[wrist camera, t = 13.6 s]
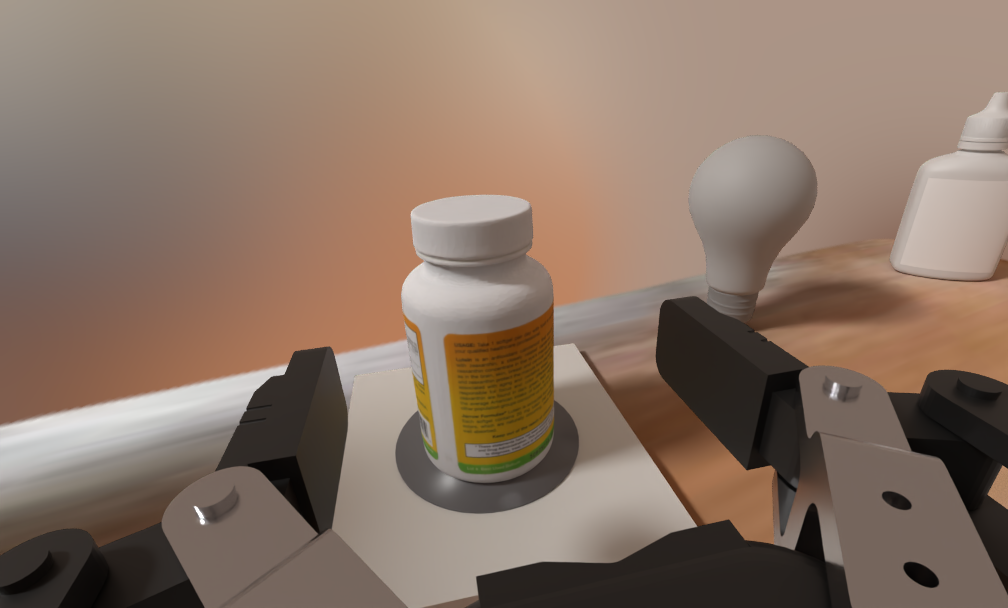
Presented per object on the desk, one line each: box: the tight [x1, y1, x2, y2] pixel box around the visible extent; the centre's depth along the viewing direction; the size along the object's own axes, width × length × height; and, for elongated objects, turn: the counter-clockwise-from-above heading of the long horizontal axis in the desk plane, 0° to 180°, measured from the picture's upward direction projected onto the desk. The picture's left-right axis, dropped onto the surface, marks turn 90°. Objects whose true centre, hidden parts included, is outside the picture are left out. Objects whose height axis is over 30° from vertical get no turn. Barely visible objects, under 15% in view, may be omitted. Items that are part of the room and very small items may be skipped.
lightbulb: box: [688, 135, 817, 323], centre depth 26 cm, size 6×6×11 cm
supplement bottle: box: [401, 195, 554, 483], centre depth 17 cm, size 5×5×10 cm
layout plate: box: [332, 343, 697, 608], centre depth 20 cm, size 12×13×1 cm
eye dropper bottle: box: [890, 92, 1008, 281], centre depth 31 cm, size 4×6×12 cm
